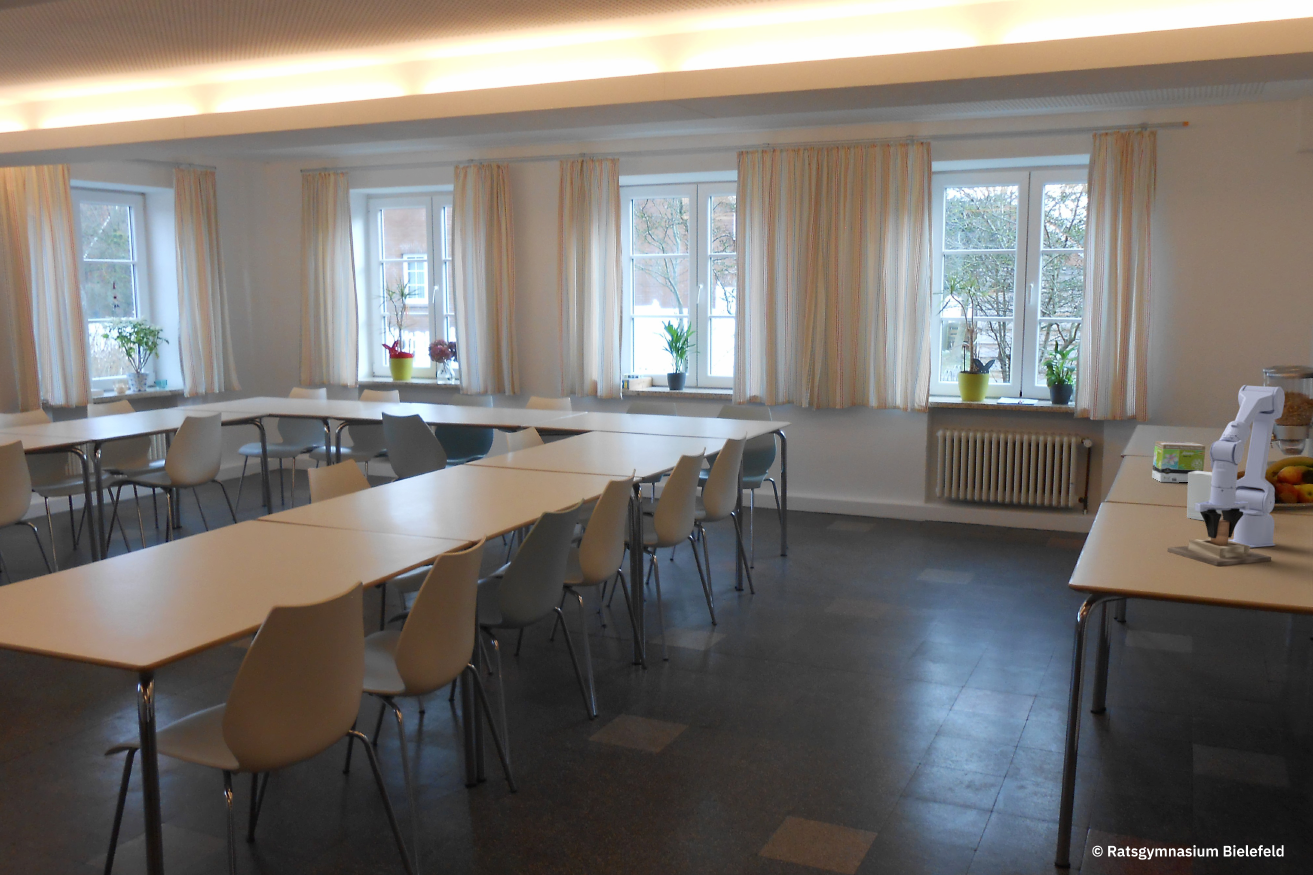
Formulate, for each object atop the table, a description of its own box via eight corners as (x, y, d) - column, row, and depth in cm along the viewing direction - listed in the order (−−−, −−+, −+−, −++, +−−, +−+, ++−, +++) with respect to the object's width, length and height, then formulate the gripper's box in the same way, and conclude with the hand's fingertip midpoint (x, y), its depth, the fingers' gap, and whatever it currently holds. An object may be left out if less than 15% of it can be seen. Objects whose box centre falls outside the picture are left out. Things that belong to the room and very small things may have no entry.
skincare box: (1221, 520, 309) (1225, 473, 307) (1211, 522, 306) (1215, 474, 304) (1194, 515, 316) (1198, 469, 314) (1184, 517, 313) (1187, 471, 311)
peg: (1210, 544, 267) (1212, 518, 266) (1227, 546, 265) (1229, 520, 264) (1209, 547, 264) (1211, 521, 263) (1227, 549, 262) (1229, 523, 261)
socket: (1219, 546, 275) (1220, 534, 275) (1271, 560, 260) (1272, 547, 259) (1167, 551, 270) (1168, 538, 269) (1216, 565, 255) (1217, 552, 254)
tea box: (1160, 482, 375) (1162, 443, 373) (1151, 478, 385) (1154, 440, 383) (1203, 484, 373) (1206, 444, 371) (1193, 479, 383) (1196, 441, 381)
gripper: (1236, 483, 268) (1232, 532, 269) (1188, 484, 265) (1184, 534, 267) (1256, 487, 261) (1252, 538, 262) (1207, 489, 258) (1203, 540, 260)
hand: (1219, 537), depth 264 cm, fingers closed on peg, 4 cm apart
